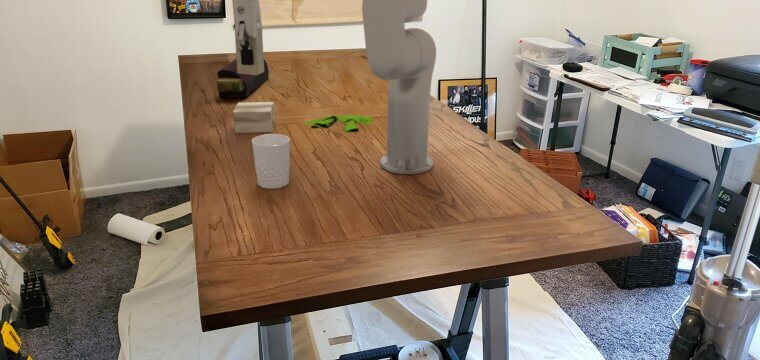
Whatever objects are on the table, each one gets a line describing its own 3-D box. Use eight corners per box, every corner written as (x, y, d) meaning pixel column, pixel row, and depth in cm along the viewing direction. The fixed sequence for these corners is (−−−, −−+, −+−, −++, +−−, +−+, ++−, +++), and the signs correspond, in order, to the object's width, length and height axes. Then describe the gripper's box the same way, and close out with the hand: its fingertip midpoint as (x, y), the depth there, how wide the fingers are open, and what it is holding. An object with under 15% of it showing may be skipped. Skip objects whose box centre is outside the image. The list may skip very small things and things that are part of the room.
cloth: (382, 119, 170) (382, 112, 169) (360, 142, 150) (360, 134, 149) (319, 113, 175) (318, 105, 174) (289, 134, 155) (289, 126, 154)
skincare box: (237, 73, 152) (232, 27, 147) (244, 70, 156) (241, 25, 151) (258, 75, 151) (254, 29, 146) (265, 71, 155) (262, 26, 150)
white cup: (275, 173, 128) (272, 131, 124) (299, 182, 124) (297, 139, 120) (247, 183, 122) (243, 140, 119) (271, 193, 118) (268, 148, 114)
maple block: (271, 132, 155) (270, 111, 153) (235, 133, 154) (233, 112, 152) (274, 121, 164) (273, 101, 162) (239, 122, 164) (238, 102, 161)
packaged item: (243, 103, 182) (241, 72, 178) (214, 102, 183) (210, 72, 179) (272, 76, 218) (270, 50, 214) (247, 75, 219) (245, 49, 215)
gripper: (250, -5, 137) (256, 69, 144) (267, -11, 153) (271, 56, 160) (220, -6, 137) (227, 68, 145) (240, -11, 153) (245, 56, 160)
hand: (250, 61), depth 152 cm, fingers closed on skincare box, 5 cm apart
